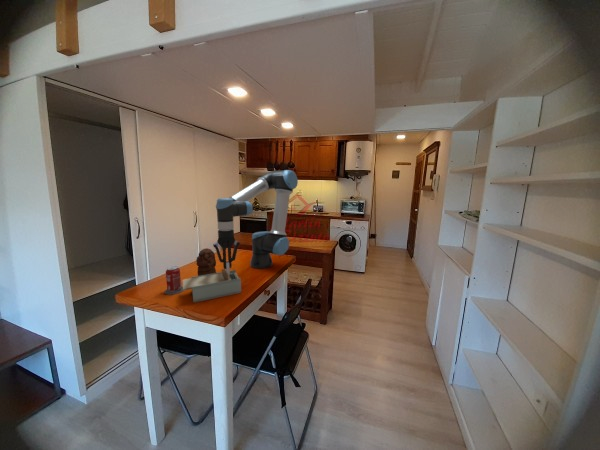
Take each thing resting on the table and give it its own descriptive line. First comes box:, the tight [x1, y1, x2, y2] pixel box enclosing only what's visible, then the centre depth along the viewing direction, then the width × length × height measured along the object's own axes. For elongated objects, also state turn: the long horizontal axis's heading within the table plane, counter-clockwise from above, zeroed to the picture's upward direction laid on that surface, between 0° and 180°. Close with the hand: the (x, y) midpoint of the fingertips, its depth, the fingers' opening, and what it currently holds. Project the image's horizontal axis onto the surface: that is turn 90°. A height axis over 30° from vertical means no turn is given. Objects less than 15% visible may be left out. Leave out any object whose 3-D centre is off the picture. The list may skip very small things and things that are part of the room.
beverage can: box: [165, 265, 182, 292], centre depth 113 cm, size 6×6×12 cm
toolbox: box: [190, 269, 242, 303], centre depth 113 cm, size 22×13×8 cm, turn 118°
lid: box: [182, 268, 231, 291], centre depth 110 cm, size 21×11×3 cm, turn 118°
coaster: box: [164, 285, 185, 296], centre depth 114 cm, size 9×9×1 cm
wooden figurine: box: [195, 247, 217, 276], centre depth 128 cm, size 12×6×18 cm, turn 167°
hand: (227, 274), depth 115 cm, fingers closed
